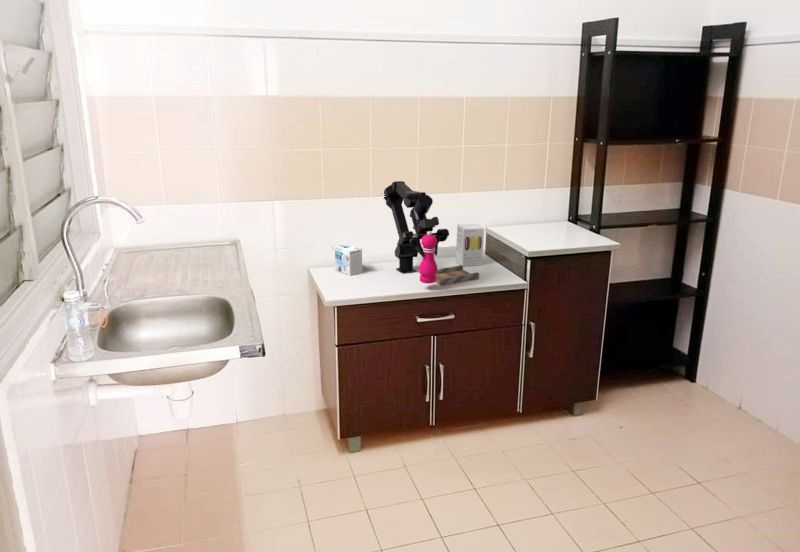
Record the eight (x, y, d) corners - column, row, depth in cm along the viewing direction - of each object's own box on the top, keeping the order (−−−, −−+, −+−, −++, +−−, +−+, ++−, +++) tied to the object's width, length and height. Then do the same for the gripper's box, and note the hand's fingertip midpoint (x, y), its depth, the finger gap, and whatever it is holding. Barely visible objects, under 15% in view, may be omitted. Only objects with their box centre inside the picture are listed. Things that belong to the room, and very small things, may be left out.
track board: (441, 285, 246) (441, 279, 245) (424, 276, 257) (424, 270, 256) (478, 278, 254) (479, 273, 253) (461, 270, 265) (461, 265, 264)
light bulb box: (334, 270, 264) (334, 245, 261) (347, 267, 268) (347, 243, 265) (350, 276, 257) (349, 251, 253) (363, 273, 261) (362, 248, 257)
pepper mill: (440, 281, 241) (443, 231, 234) (427, 285, 236) (429, 234, 229) (428, 276, 246) (429, 227, 239) (414, 280, 241) (415, 230, 235)
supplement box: (462, 266, 270) (463, 229, 265) (455, 261, 278) (456, 224, 273) (482, 265, 272) (484, 227, 267) (475, 259, 280) (476, 223, 275)
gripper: (402, 211, 233) (412, 247, 227) (448, 208, 239) (459, 243, 232) (395, 226, 242) (404, 261, 236) (439, 223, 248) (449, 257, 242)
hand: (429, 255), depth 236 cm, fingers closed on pepper mill, 5 cm apart
